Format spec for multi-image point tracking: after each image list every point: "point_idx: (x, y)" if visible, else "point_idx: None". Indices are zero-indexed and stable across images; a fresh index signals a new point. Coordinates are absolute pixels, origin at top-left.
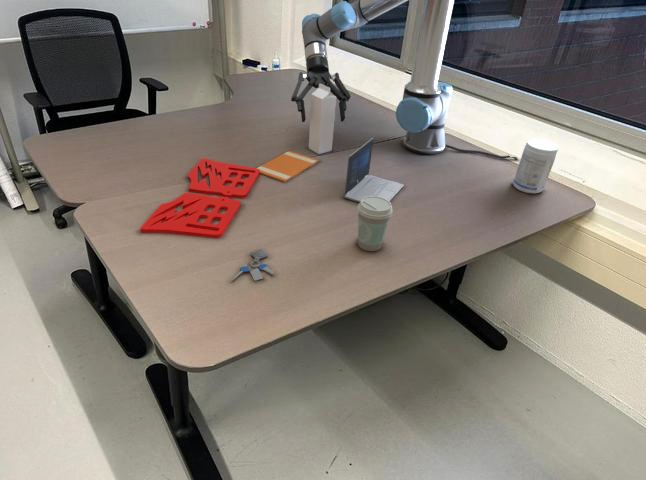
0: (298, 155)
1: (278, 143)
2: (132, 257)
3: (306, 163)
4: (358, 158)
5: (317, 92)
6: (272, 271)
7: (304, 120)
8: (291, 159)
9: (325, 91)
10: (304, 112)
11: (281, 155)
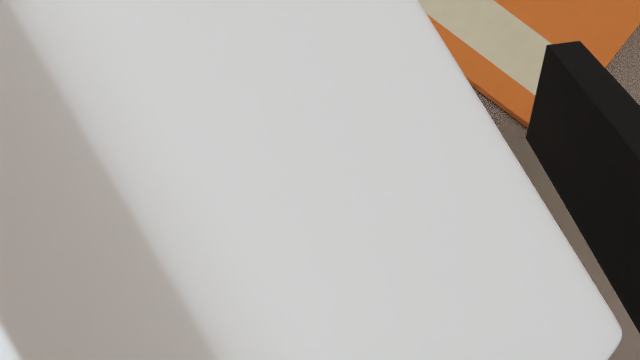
0: (485, 52)
1: (621, 308)
2: None
3: None
4: None
5: (446, 277)
6: None
7: (539, 101)
8: None
9: (106, 103)
10: (597, 93)
11: (613, 47)
